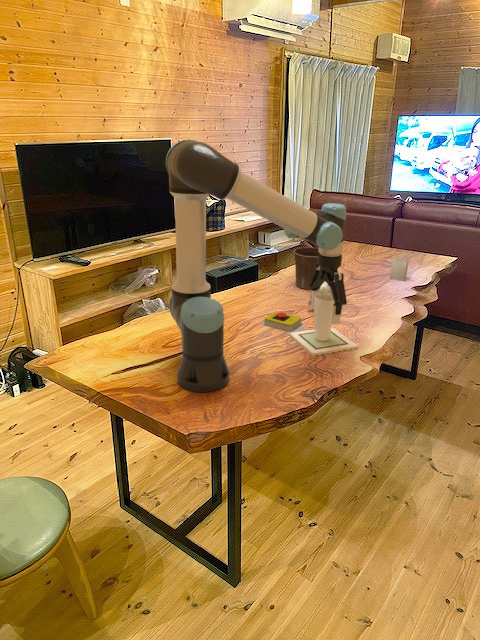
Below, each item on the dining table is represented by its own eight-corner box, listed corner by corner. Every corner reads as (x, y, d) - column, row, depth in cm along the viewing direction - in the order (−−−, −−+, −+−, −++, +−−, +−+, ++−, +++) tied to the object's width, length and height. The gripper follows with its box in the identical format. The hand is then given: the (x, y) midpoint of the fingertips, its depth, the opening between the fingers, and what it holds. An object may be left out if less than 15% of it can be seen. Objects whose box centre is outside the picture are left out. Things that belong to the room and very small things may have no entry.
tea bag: (403, 281, 232) (406, 260, 228) (389, 278, 235) (392, 258, 231) (405, 279, 235) (408, 259, 231) (391, 276, 238) (394, 256, 234)
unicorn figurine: (335, 299, 206) (338, 269, 201) (324, 315, 190) (326, 282, 185) (319, 297, 209) (321, 267, 204) (306, 312, 193) (308, 279, 187)
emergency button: (272, 307, 186) (308, 315, 179) (272, 317, 188) (307, 326, 180) (260, 314, 179) (296, 323, 171) (259, 325, 181) (295, 335, 173)
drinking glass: (309, 340, 165) (311, 298, 160) (315, 333, 171) (318, 292, 165) (328, 344, 162) (331, 302, 157) (334, 336, 168) (338, 295, 162)
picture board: (312, 356, 157) (313, 353, 156) (289, 335, 171) (289, 332, 171) (357, 348, 162) (358, 345, 162) (331, 329, 177) (331, 326, 177)
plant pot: (334, 289, 218) (337, 254, 212) (302, 293, 213) (304, 257, 207) (315, 279, 232) (318, 246, 226) (285, 282, 227) (287, 248, 221)
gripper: (362, 262, 146) (355, 328, 154) (320, 243, 167) (316, 301, 175) (341, 265, 143) (334, 331, 151) (301, 245, 164) (297, 304, 173)
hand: (324, 315), depth 163 cm, fingers open, 13 cm apart
